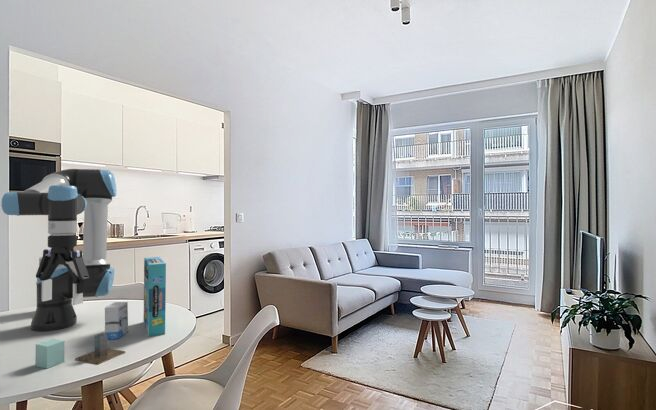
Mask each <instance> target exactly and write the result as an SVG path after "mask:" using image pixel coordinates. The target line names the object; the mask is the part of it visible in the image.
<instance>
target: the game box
mask: <svg viewBox="0 0 656 410" xmlns="http://www.w3.org/2000/svg"><path fill="white" fill-rule="evenodd" d="M143 262H144V263H143V265H144V267H143V324H144V328H145V331H146V335H147V337H155V336H161V335H166V288H167V284H166V283H167V280H166V279H167V277H166V276H167V269H166V268H167V264H166V262H165V261H164V260H163V259H162V258H161V257H160V256H151V257H144V258H143Z"/></svg>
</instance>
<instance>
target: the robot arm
mask: <svg viewBox="0 0 656 410" xmlns="http://www.w3.org/2000/svg"><path fill="white" fill-rule="evenodd" d="M114 175H115V174H114V172H112V171H111V170H108V169H107V170H106V169H101V168H100V169H98V168H97V169H91V168H86V169H85V168H67V169H62V170H59V171H54V172H51V173H49V174H48V175H46V176H44V177H43V178H42V180H41V181H40V182H39V183H36V184H35V185H32V186H31V187H29V188H27V189H25V190H23V191H19V192H17V191H9V192H5V193H4V194H3V195H2V198H1V210H2V212H3V213H4V215H7V216H17V217H18V216H47V233H48V234H49V235H48V236H47V247H48V249H47V248H46V249H43V251H42V256H41V257H42V260H41V262H40V265H39V264H38V268H37V271H36V274H35V278H36V282H35V284H36V309H35V312H34V314H33V317H32V319H31V323H30V329H31V330H32V331H37V332H42V331H43V332H44V331H45V332H49V331H54V330H60V329H64V328H68V327H72V326H74V325H75V324H76V323H77V321H78V320H77V319H78V317H77V314H76V312H75V309H74V306H77V305H81V304H83V303H84V298H91V297H92V298H93V297H95V298H97V297H103V296H104V297H105V296H107V295H108V294H110V293H111V291H112V287H113V283H114V278H115V268H114V267H111V262H109V261H108V260H107V245H108V244H107V243H108V218H109V217H108V211H109V209H108V208H109V207H108V206H109V204H110V203H111V202H113V198H115V197H117V183H116V179H115V176H114ZM82 213H84V215H83V237H82V240H83V241H82V250H81V249H77V250H74V248H75V247H77V245H78V236H77V233H78V215H80V214H82ZM59 264H61V265H64V266H63V267H57V266H58V265H59Z"/></svg>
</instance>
